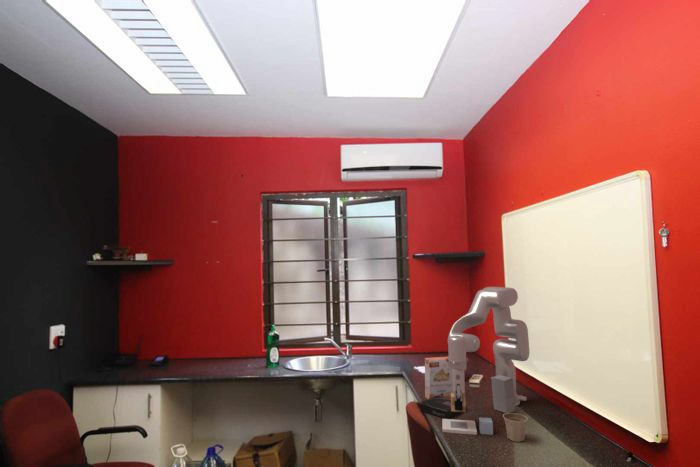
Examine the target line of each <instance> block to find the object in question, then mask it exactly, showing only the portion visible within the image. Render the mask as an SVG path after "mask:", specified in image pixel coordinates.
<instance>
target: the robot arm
mask: <svg viewBox="0 0 700 467" xmlns="http://www.w3.org/2000/svg"><path fill="white" fill-rule="evenodd" d="M518 294H519V293H518V291H517V290H516V289H515V288H513V287H505V286H504V287H502V286H501V287H500V286H486V287H484V288H483V289H480V290H477V292H476V294H475V296H474V298H473V301H472V302H471V305H470V307H469V310H468V312H467V313H466V314H464V315H463V316H461V317H459V318H458V320H456V321H455V322H454V323H453V324H452V326H451V329H450V330H449V332H448V337H447V345H448V347H447V348H448V351H447V352H448V356H449V369H451V370H452V386H453V393H455V410H459V411H462V410H463V408H462V393H463V394H465V395H466V388H465V387H466V386H465V385H466V384H465V383H466V381H465V380H466V375H465V376H464V370H466V358H467V353H474V352H476V351H478V350H479V348H480V345H481V342H480V341H481V340H480V339H479V337H478V336H476V335H474V334H471V333H469V334H468V333H464V331H466V330H467V329H469V328H472V327H473V328H474V327H475V326H479V325H482V324H485V322H486V320H487V318H488V315H489V314H490V311H491V309H492V315H493V326H494V332H495V334H496V336H498V337H500V338H499V339H496V340H495V341H494V342H493V343H492V351H493V356H494V362H495V363H494V364H495V376H498V375H502V376H506V377H510V378H513V386H514V397H515V407H517V406H519V405H520V403H521V401H527V400H528V399H527V396H523V394H522V395H521V394H520V395H518V393H517V380H516V379H517V378H516V367H515V366H516V365H515V363H514V362H513V361H518V362H526V361H528V360H529V358H530V342H529V340H530V339H529V329H528V326H527V323H526V322H525V321H524V320H521V319H516V318H515V319H513V318H512V315H511V308H510V307H512V306H514V305H515V304H516V303H517V302H518V299H519V295H518ZM506 338H507V339H506ZM512 339H514V340H512ZM466 371H467V370H466ZM456 395H457V396H456Z"/></svg>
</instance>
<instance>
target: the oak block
mask: <svg viewBox="0 0 700 467" xmlns="http://www.w3.org/2000/svg"><path fill="white" fill-rule="evenodd" d="M456 396H457V395H456ZM466 402H467V401H466V393H465V394H463V393H462V408H463V410H462V411H459V410H455V393H451V411H455V412H463V413H466V412H467V410H466V407H467V403H466Z"/></svg>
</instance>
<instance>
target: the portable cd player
mask: <svg viewBox="0 0 700 467" xmlns="http://www.w3.org/2000/svg"><path fill="white" fill-rule="evenodd" d="M418 405H419V407H420V409H421V411H422V412H421V413H424V414H427V415H430V416H433V417H435V418H436V417H437V418H438V419H441V420H442V419H453V418H455V417H456V416H458V415H461V414H462V413H464V412H455V411H451V399H448V398H444V397H440V396H435V397H432V398H430V399H427V398H426V399H425V400H422V401H420V402H418V403H417V406H418ZM467 410H468V408H467V406H466V411H467Z"/></svg>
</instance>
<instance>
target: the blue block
mask: <svg viewBox="0 0 700 467" xmlns="http://www.w3.org/2000/svg"><path fill="white" fill-rule="evenodd" d="M478 427H479V428H478V429H479V433H480V434H481V435H492V436H493V435H494V422H493V420H492V417H482V416H481V417H478Z"/></svg>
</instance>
